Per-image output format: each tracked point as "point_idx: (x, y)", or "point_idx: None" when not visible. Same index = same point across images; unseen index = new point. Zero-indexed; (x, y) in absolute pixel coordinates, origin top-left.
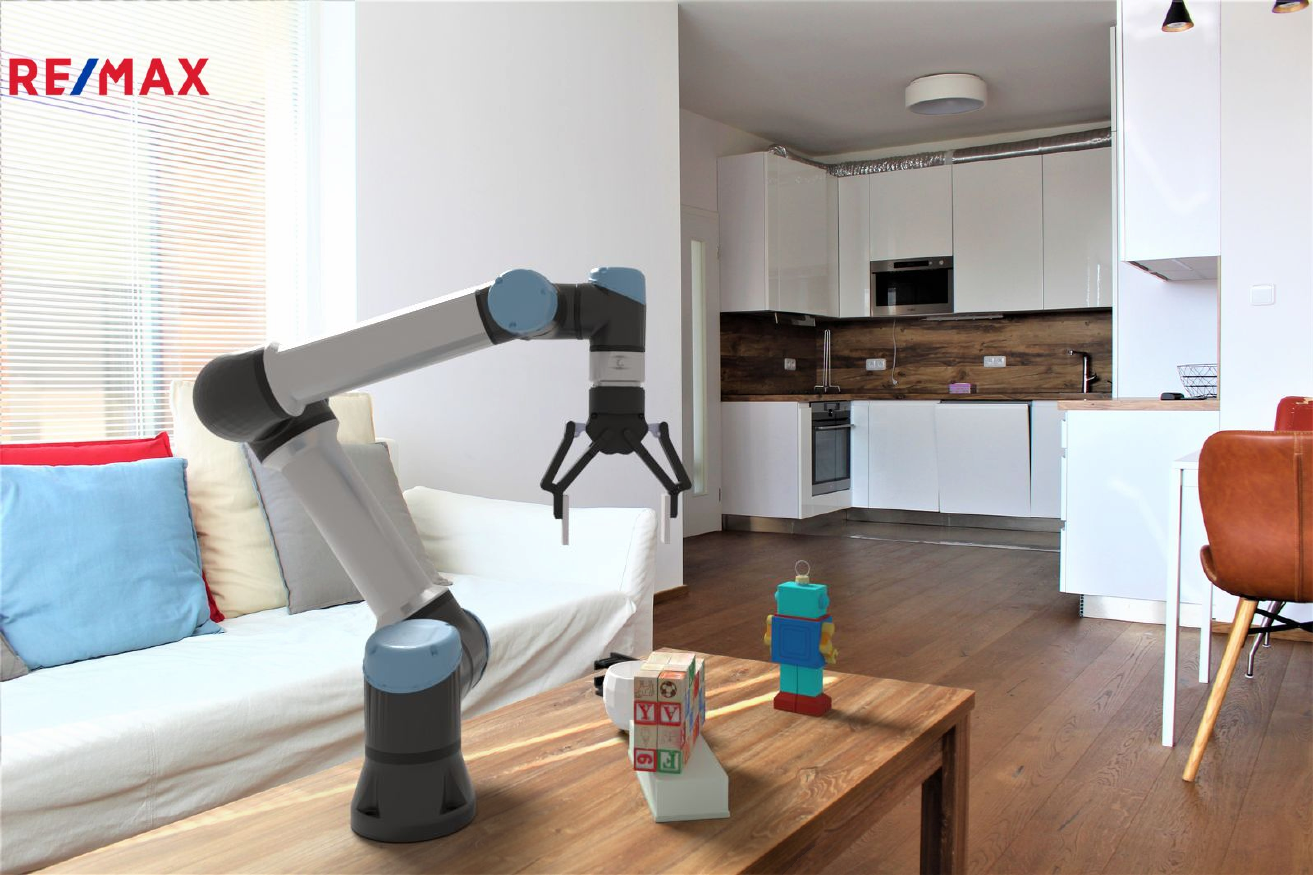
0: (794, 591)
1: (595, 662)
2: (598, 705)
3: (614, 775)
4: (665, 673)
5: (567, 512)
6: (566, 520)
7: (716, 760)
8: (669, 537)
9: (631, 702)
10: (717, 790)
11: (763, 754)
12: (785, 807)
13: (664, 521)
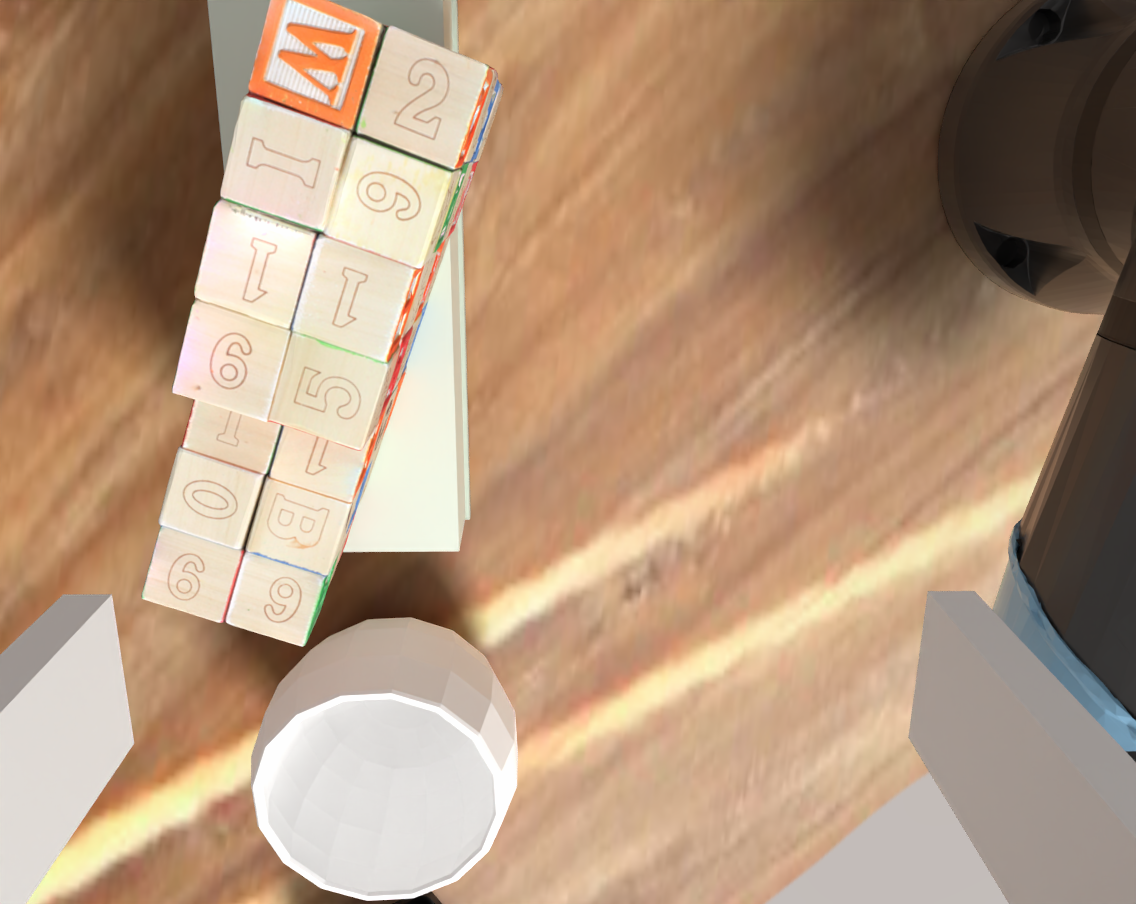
0: None
1: None
2: (508, 897)
3: (528, 359)
4: (341, 100)
5: (1079, 753)
6: (1046, 702)
7: (224, 136)
8: (40, 618)
9: (439, 652)
10: None
11: (70, 455)
12: (60, 34)
13: (14, 705)
